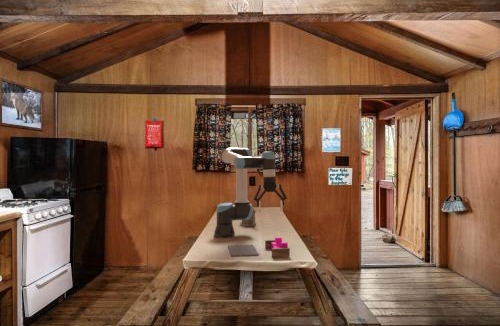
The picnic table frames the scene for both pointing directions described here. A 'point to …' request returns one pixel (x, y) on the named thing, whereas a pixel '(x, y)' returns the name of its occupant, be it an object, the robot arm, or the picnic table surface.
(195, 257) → the picnic table surface
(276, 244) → the toy block
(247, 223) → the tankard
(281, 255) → the block
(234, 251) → the slate mat
